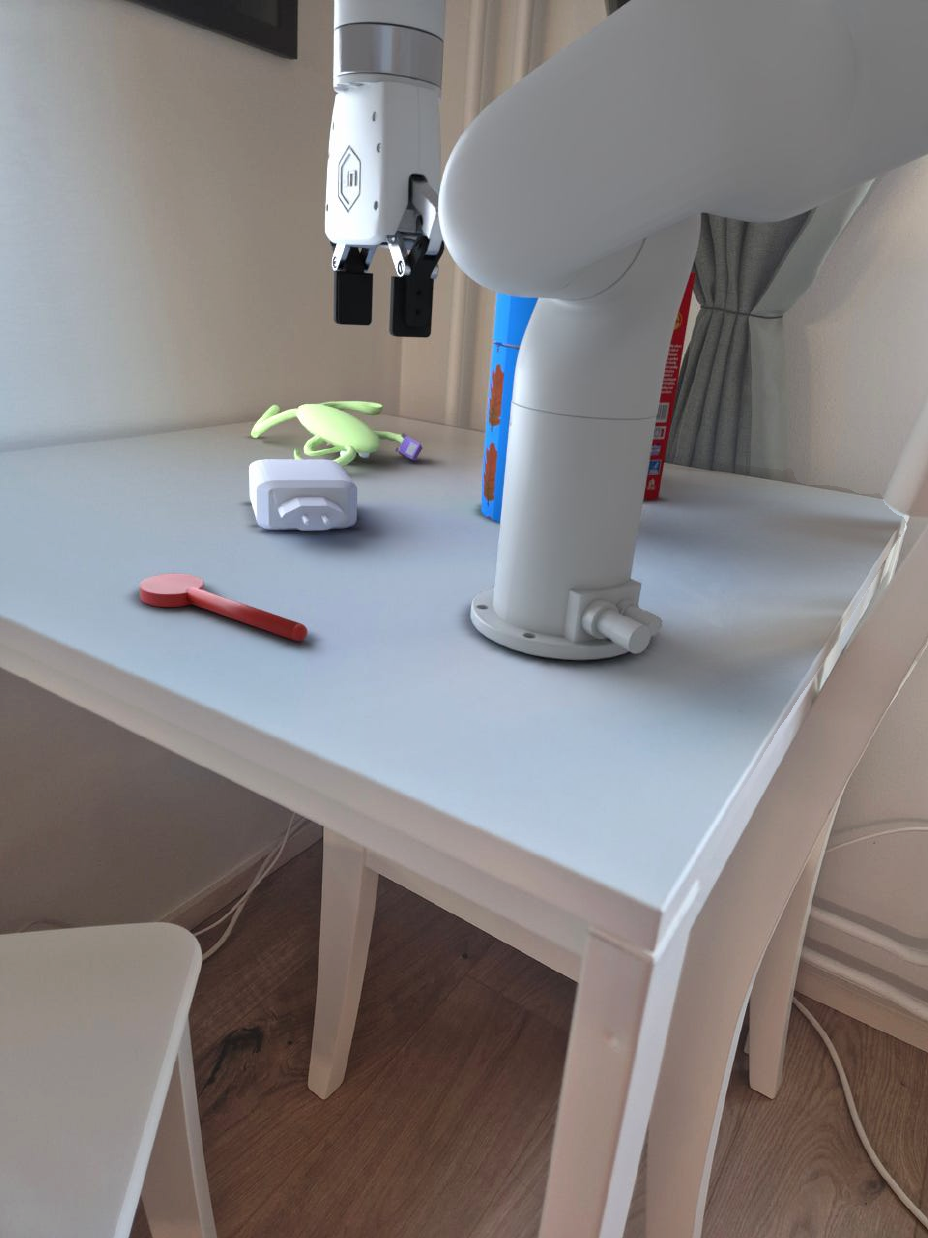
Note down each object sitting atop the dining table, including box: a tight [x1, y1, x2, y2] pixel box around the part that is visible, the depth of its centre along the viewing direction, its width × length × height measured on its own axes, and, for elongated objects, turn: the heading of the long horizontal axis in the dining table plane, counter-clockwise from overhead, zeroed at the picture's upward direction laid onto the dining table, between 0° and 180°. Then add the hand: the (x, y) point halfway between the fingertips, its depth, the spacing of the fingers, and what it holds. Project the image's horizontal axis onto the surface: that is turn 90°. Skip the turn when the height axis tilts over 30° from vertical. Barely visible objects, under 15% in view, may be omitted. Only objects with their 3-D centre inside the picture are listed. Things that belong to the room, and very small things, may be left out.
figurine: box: [250, 400, 423, 468], centre depth 110 cm, size 18×27×6 cm
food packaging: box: [643, 271, 697, 501], centre depth 99 cm, size 15×5×25 cm, turn 26°
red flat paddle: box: [139, 572, 308, 642], centre depth 58 cm, size 15×4×1 cm, turn 58°
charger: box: [248, 458, 358, 531], centre depth 78 cm, size 5×9×15 cm
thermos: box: [480, 292, 538, 523], centre depth 84 cm, size 11×11×25 cm
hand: (379, 330), depth 64 cm, fingers open, 9 cm apart
